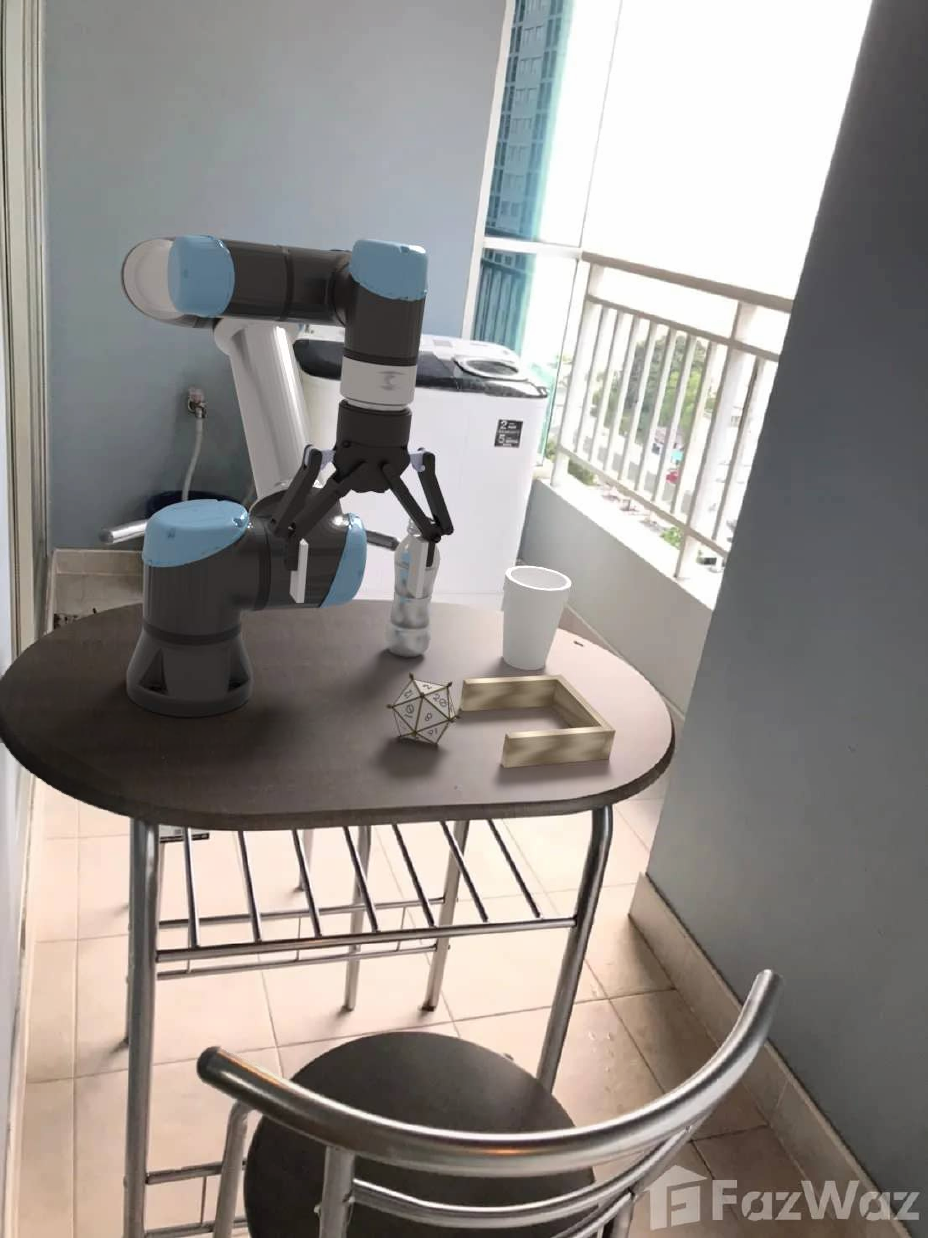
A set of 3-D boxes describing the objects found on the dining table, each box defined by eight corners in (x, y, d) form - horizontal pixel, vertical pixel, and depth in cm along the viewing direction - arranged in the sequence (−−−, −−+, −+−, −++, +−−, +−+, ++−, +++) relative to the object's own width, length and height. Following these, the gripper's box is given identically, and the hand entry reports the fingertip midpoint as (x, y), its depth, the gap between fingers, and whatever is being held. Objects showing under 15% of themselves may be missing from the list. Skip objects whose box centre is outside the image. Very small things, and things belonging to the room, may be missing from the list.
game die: (428, 762, 124) (484, 704, 123) (415, 773, 116) (475, 710, 115) (377, 712, 125) (431, 653, 124) (360, 719, 117) (419, 656, 116)
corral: (504, 767, 118) (509, 738, 117) (459, 706, 131) (463, 679, 130) (609, 758, 124) (615, 730, 122) (556, 701, 136) (561, 674, 135)
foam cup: (551, 680, 142) (567, 595, 137) (487, 666, 144) (501, 582, 139) (558, 654, 151) (574, 573, 146) (498, 641, 152) (511, 561, 147)
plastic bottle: (437, 653, 145) (455, 521, 138) (410, 667, 140) (428, 530, 132) (401, 638, 148) (417, 508, 141) (373, 651, 143) (388, 517, 135)
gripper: (264, 404, 94) (252, 614, 102) (501, 415, 105) (473, 603, 113) (245, 388, 100) (235, 587, 108) (470, 400, 111) (446, 579, 119)
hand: (356, 596), depth 110 cm, fingers open, 13 cm apart
